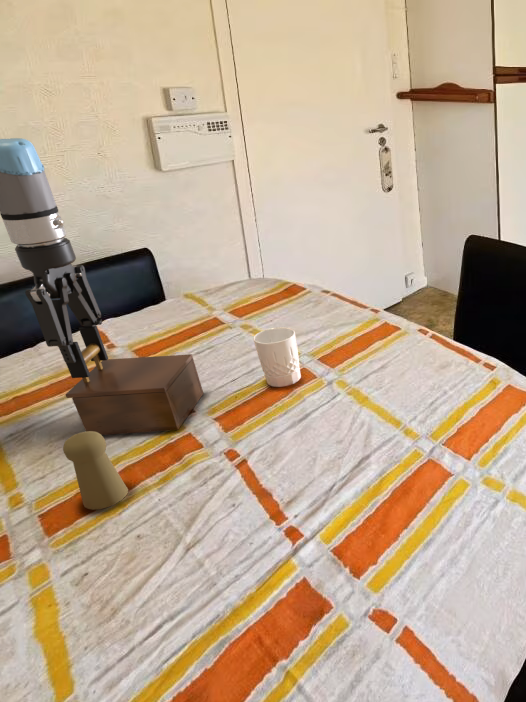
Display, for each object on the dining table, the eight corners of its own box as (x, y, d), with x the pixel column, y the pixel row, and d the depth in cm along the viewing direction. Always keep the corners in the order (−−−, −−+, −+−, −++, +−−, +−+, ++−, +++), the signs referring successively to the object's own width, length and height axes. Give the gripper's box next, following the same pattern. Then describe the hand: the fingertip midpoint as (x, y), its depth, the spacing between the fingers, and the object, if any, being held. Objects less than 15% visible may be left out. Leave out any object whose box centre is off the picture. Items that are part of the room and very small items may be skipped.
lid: (66, 398, 107) (54, 368, 104) (104, 363, 119) (94, 335, 116) (165, 391, 108) (155, 362, 105) (193, 357, 120) (184, 330, 117)
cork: (130, 499, 95) (106, 439, 89) (84, 514, 92) (56, 453, 87) (126, 479, 99) (102, 421, 94) (82, 493, 96) (55, 434, 91)
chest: (87, 436, 111) (71, 398, 107) (122, 398, 123) (109, 363, 119) (178, 429, 112) (165, 392, 108) (203, 393, 124) (193, 358, 120)
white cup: (272, 370, 132) (262, 327, 127) (309, 370, 132) (300, 327, 127) (258, 388, 125) (246, 343, 120) (296, 388, 125) (286, 343, 120)
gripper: (31, 257, 93) (86, 392, 104) (94, 225, 110) (135, 344, 121) (-22, 259, 92) (38, 395, 103) (49, 227, 109) (95, 347, 120)
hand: (90, 367), depth 112 cm, fingers closed on lid, 6 cm apart
